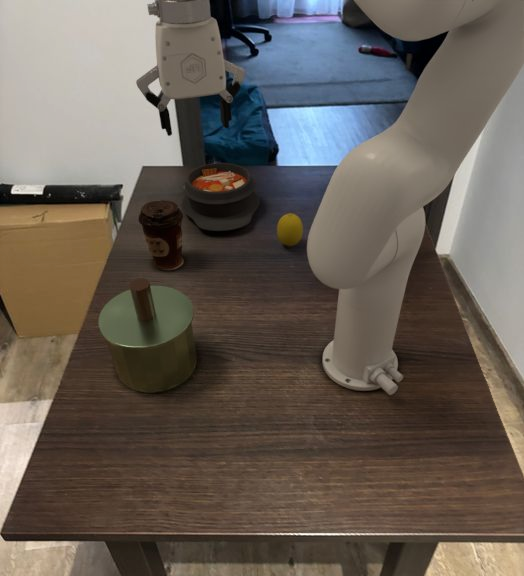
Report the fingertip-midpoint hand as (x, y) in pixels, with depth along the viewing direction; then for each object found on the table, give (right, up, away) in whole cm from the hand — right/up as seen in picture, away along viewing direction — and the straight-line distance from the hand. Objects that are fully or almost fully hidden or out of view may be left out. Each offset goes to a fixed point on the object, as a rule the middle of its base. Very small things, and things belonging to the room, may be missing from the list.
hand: (197, 128), depth 89 cm
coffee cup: (-9, -19, +23) cm, 31 cm away
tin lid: (-7, -32, -5) cm, 33 cm away
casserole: (+1, -3, +38) cm, 39 cm away
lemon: (+17, -15, +27) cm, 35 cm away
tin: (-7, -39, +2) cm, 40 cm away
